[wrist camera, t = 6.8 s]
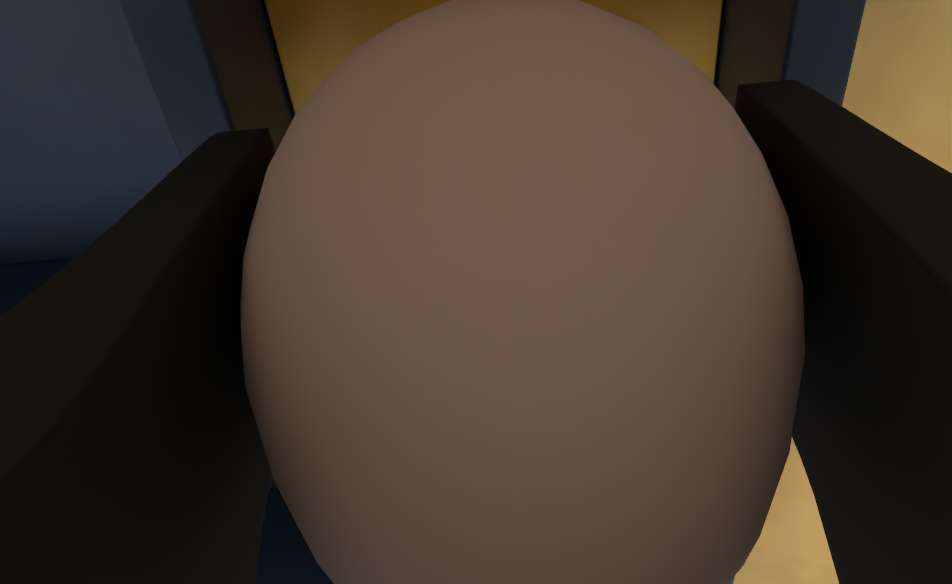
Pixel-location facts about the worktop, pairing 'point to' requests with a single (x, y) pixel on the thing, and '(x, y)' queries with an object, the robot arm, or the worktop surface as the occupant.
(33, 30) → the divided tray
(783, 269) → the egg
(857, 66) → the worktop surface
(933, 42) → the worktop surface
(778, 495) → the worktop surface
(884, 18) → the worktop surface
